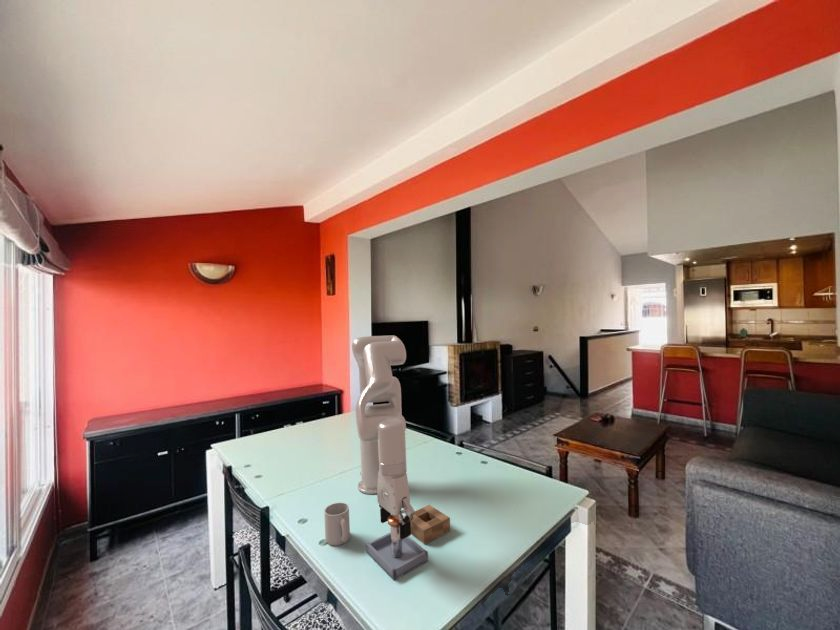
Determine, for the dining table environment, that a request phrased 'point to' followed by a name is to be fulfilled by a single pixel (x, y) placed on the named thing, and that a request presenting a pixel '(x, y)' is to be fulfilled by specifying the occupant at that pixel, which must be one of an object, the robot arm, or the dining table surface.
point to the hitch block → (429, 524)
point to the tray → (396, 566)
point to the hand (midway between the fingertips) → (395, 528)
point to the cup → (337, 523)
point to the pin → (395, 536)
